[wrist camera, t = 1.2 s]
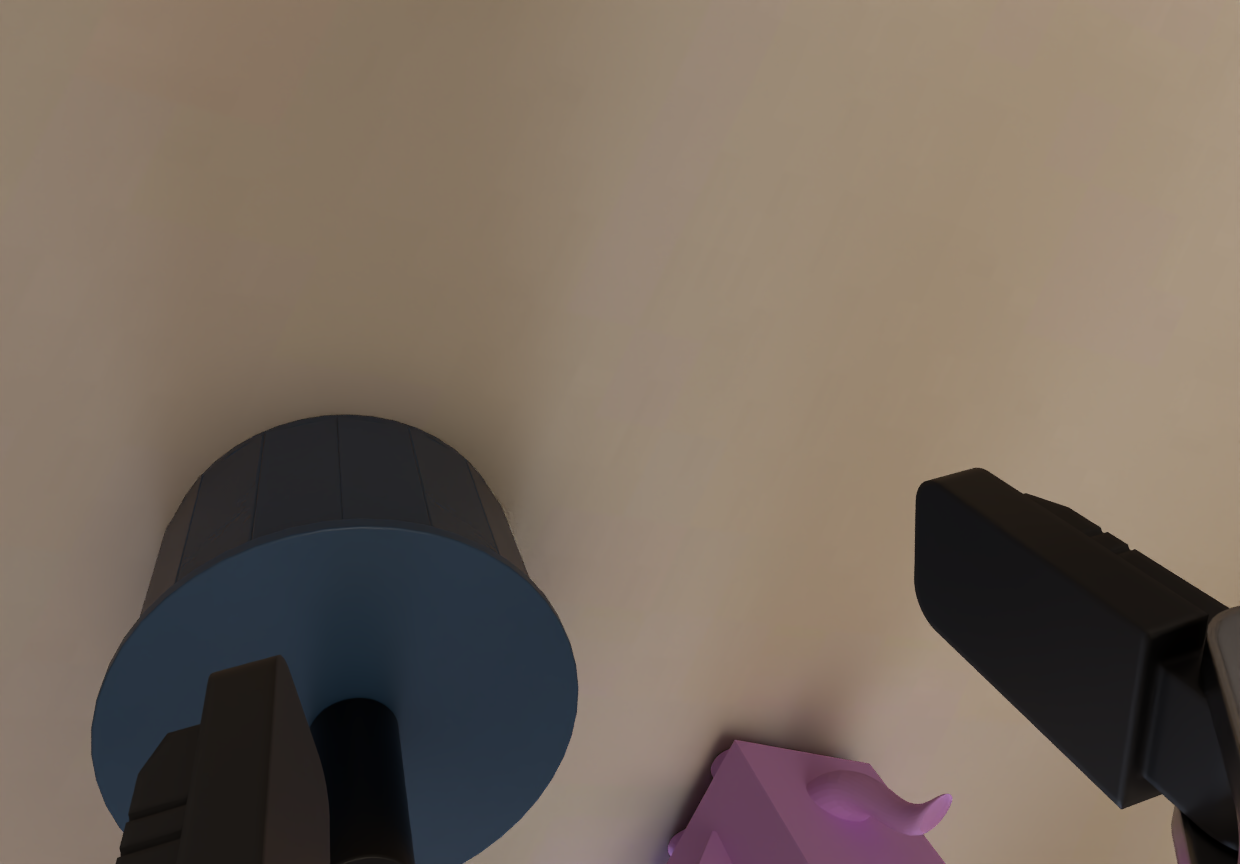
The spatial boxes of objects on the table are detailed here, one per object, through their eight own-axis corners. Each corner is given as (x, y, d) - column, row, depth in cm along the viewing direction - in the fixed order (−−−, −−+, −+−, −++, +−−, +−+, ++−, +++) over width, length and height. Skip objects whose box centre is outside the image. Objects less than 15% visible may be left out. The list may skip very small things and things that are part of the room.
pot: (96, 629, 31) (28, 815, 24) (280, 350, 30) (269, 457, 22) (395, 739, 37) (416, 919, 29) (566, 509, 35) (634, 638, 28)
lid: (6, 807, 24) (-90, 1048, 19) (261, 421, 22) (243, 558, 17) (419, 918, 30) (443, 1129, 24) (650, 620, 28) (737, 772, 22)
